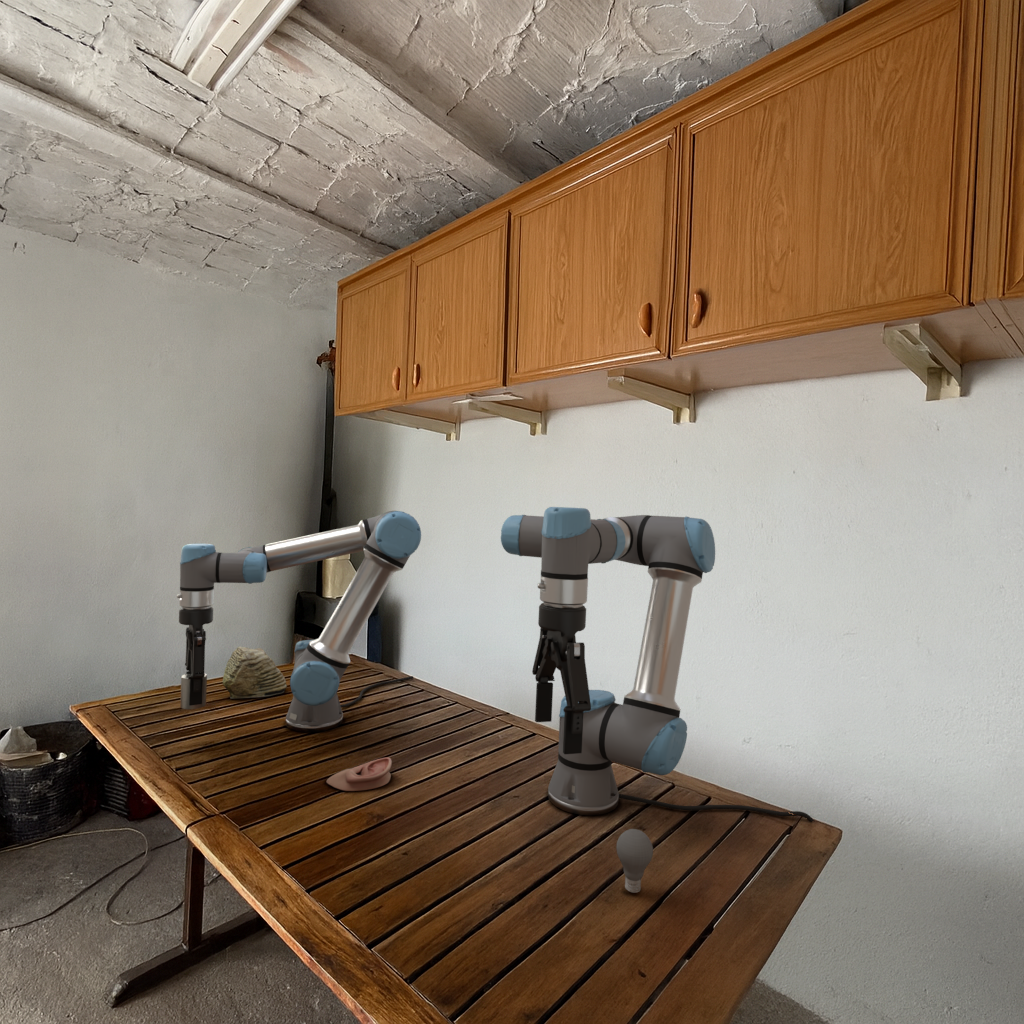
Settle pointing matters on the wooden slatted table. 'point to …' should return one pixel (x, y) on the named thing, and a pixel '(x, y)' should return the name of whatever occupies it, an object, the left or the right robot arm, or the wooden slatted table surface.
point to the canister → (186, 690)
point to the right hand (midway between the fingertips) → (556, 736)
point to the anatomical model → (363, 776)
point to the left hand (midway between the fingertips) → (193, 700)
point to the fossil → (252, 674)
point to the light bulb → (634, 857)
